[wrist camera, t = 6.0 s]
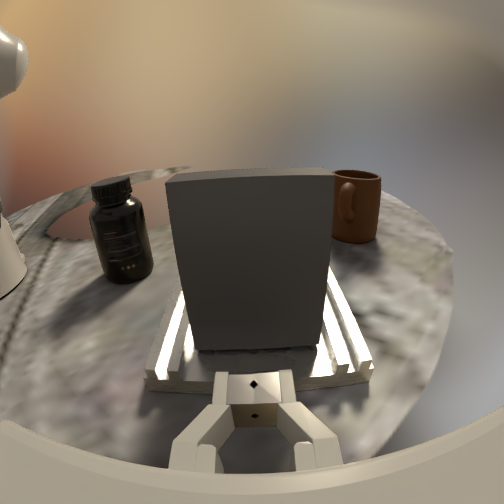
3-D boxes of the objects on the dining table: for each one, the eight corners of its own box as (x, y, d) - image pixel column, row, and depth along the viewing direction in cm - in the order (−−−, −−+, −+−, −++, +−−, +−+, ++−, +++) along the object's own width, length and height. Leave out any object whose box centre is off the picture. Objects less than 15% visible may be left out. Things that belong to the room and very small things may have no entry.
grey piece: (149, 390, 18) (109, 296, 14) (191, 262, 36) (182, 197, 32) (369, 381, 18) (399, 283, 14) (317, 256, 36) (320, 191, 32)
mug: (367, 262, 34) (375, 189, 30) (311, 251, 38) (314, 180, 33) (378, 230, 43) (384, 173, 39) (334, 222, 47) (337, 167, 43)
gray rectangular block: (195, 349, 20) (165, 182, 14) (205, 299, 26) (188, 164, 20) (319, 344, 20) (334, 175, 14) (305, 294, 25) (310, 158, 20)
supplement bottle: (104, 267, 36) (84, 182, 30) (149, 255, 38) (134, 170, 33) (106, 291, 30) (80, 192, 25) (159, 276, 33) (142, 177, 28)
